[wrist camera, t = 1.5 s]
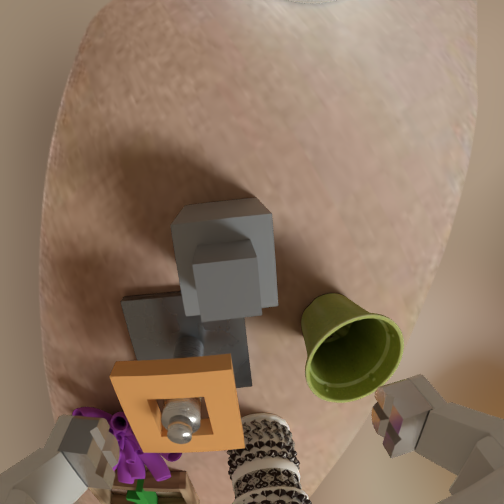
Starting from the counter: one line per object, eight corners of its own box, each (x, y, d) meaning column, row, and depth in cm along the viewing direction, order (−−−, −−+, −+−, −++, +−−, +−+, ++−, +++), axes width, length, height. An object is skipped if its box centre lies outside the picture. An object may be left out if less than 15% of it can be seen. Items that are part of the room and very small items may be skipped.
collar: (116, 361, 22) (109, 376, 20) (230, 353, 23) (231, 369, 21) (146, 437, 25) (143, 452, 23) (243, 432, 26) (245, 448, 24)
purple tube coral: (149, 380, 38) (189, 431, 32) (142, 447, 42) (175, 491, 35) (67, 394, 30) (97, 457, 24) (77, 462, 34) (105, 514, 27)
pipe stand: (123, 296, 31) (76, 376, 18) (240, 284, 32) (254, 366, 19) (150, 387, 34) (130, 477, 21) (251, 379, 35) (266, 472, 22)
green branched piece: (124, 469, 39) (120, 489, 35) (145, 471, 39) (142, 492, 35) (141, 500, 42) (139, 518, 37) (160, 501, 42) (158, 520, 38)
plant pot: (368, 270, 33) (409, 304, 24) (365, 344, 36) (397, 388, 27) (282, 284, 32) (303, 327, 24) (288, 360, 35) (306, 412, 27)
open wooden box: (88, 466, 38) (83, 481, 35) (186, 471, 40) (185, 488, 36) (110, 496, 41) (107, 510, 38) (199, 500, 42) (199, 515, 39)
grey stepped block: (184, 205, 29) (159, 240, 17) (256, 197, 30) (283, 226, 17) (194, 273, 31) (180, 346, 19) (262, 265, 31) (289, 334, 19)
